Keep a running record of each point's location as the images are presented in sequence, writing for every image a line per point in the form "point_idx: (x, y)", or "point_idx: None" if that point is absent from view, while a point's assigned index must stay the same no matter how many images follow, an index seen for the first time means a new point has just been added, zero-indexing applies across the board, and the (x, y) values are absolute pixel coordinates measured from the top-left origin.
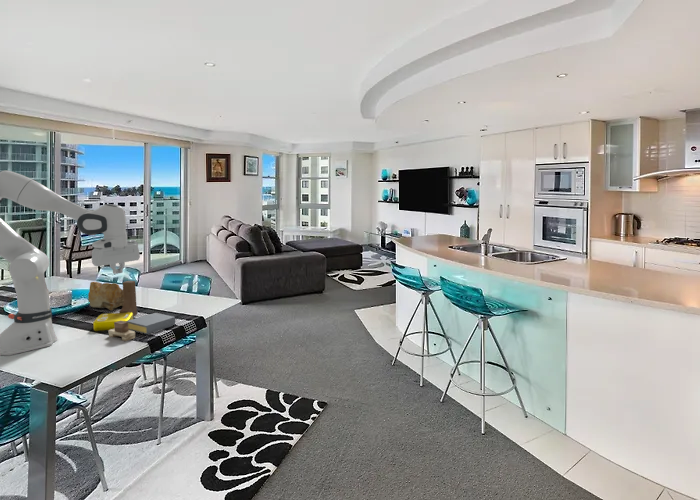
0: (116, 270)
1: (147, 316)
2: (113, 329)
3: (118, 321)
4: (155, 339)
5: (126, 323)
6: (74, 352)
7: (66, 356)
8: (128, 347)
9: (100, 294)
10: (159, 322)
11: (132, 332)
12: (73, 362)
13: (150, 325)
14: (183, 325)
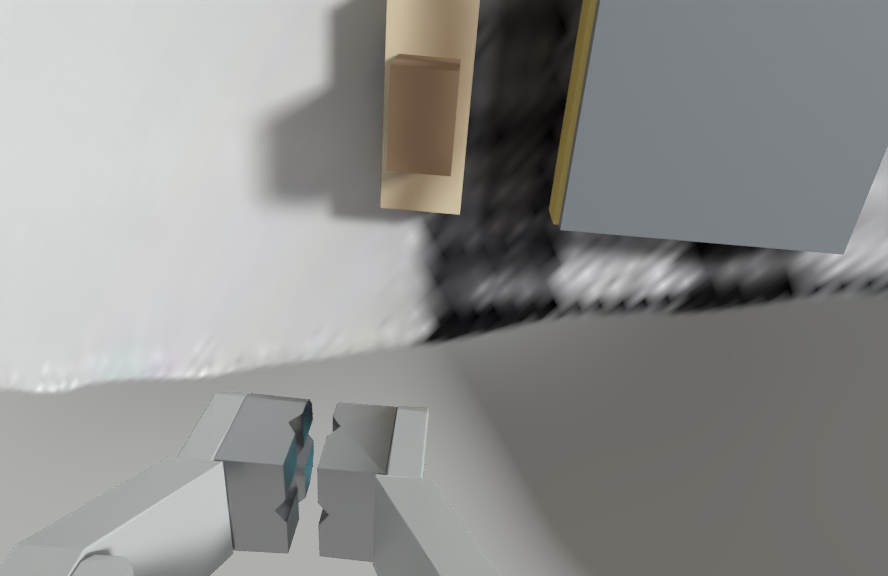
0: (231, 534)
1: (805, 15)
2: (421, 4)
3: (427, 78)
4: (498, 324)
5: (435, 172)
6: (68, 62)
7: (5, 83)
8: (321, 290)
9: None
10: (683, 238)
11: (440, 209)
12: (4, 212)
13: (598, 230)
14: (811, 284)
